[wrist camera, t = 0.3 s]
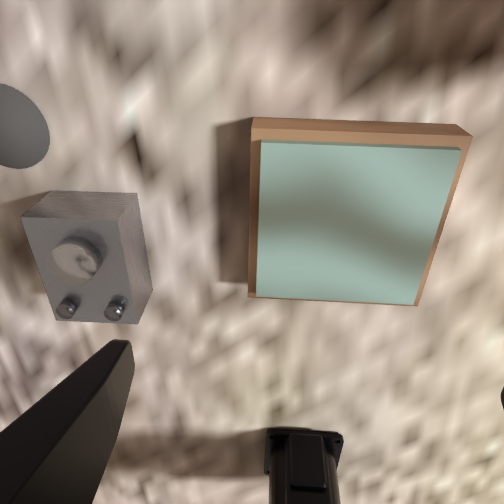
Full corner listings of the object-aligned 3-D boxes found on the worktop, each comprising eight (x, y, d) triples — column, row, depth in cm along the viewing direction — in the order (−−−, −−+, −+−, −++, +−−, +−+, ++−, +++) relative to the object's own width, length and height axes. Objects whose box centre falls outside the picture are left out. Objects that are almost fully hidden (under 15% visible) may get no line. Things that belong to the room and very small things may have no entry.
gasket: (61, 166, 22) (56, 170, 22) (-15, 163, 22) (-22, 167, 22) (40, 82, 20) (34, 84, 19) (-45, 79, 20) (-53, 81, 20)
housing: (153, 288, 26) (132, 336, 23) (80, 284, 27) (47, 332, 23) (138, 191, 23) (109, 230, 19) (53, 188, 23) (8, 226, 19)
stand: (408, 285, 25) (420, 311, 23) (249, 277, 25) (247, 302, 23) (455, 124, 19) (477, 139, 17) (253, 116, 20) (250, 131, 18)
